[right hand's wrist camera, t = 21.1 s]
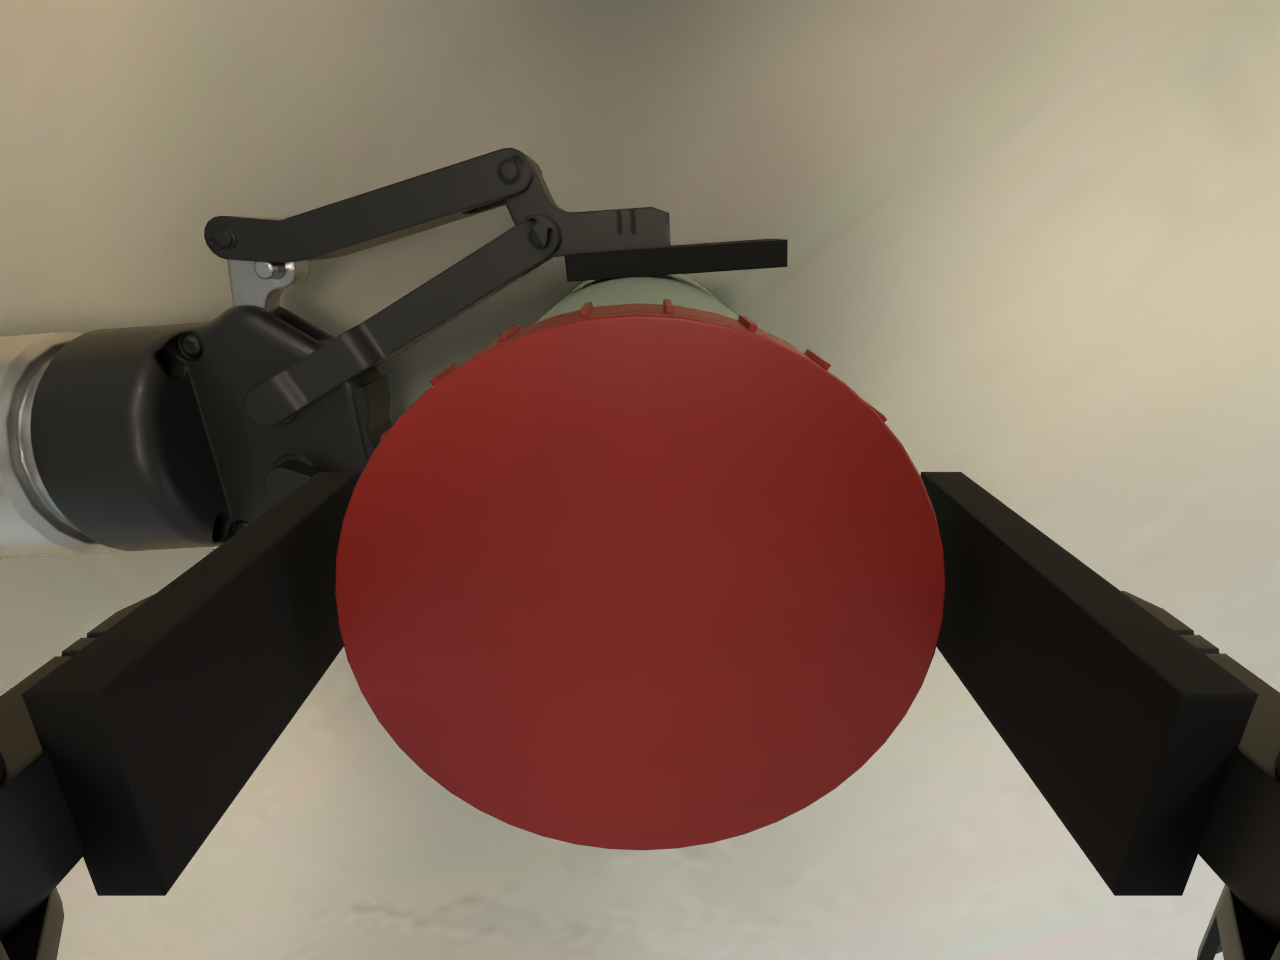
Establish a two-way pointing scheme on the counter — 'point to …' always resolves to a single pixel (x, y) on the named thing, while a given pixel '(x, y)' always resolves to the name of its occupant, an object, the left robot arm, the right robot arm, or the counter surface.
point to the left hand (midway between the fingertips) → (777, 400)
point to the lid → (640, 578)
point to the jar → (641, 294)
